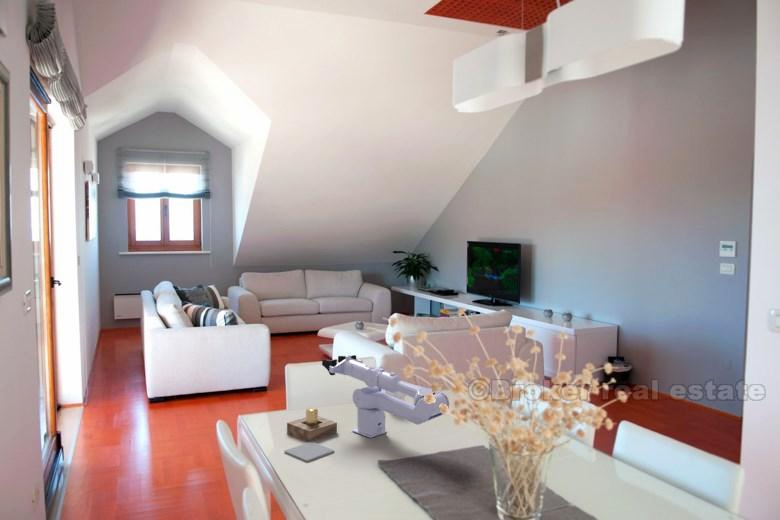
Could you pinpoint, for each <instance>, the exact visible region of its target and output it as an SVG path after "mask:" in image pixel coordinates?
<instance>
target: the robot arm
mask: <svg viewBox="0 0 780 520" xmlns="http://www.w3.org/2000/svg"><path fill="white" fill-rule="evenodd" d="M321 365H322V366H323V368H325V369H326V371H327V372H328V374H329V375H330V376H335V375H336V374H339V375H343V376H348V377H351V378H352V379H353V378H354V379H356V380H359V381H361V382H364V384H365V385H366V387H362V388H356V389H355V390H354V391H353V393H352V402H353V404H354V405H355V407H356V409H357V410H356V411H357V419H356V420H357V421H356V422H357V423H356V425H357V426H356V428H353V429H351V432H353V433H355V434H359V435H361V436H363V437H364V436H365V437H367V438H370V439H371V438H376V437H377V436H380V435H383V434H386V433H387V432H388V431H387V430H386V413H387V414H388V413H389V414H391V415H393V416H395V417H398V418H400V419H403V420H405V421H407V422H410V423H412V424H415V425H422V424H425V423H427V422H429V421H431V420H433V419H435V418H438V417H441V416H443V415H444V414H442V413H441V412H440V408H439V405H440V404H441V403H443V404H446V405H447V406H448V409H449V408H450V399H449V397H448V396H447V394H446V393H444V392H441V391H438V390H437V391H436V392H434V393H433V395H434V396H435V399H436V402H435V403H431V404H427V403H425V401H424V394H425V393H432V389H433V388H429V387H424V386H420V385H416V384H413V383H409V382H407V381H403V380H402V377H401V376H400V375H396V372H389V371H386V370H385V369H384V368H383V366H378V367H373V366H371V365H369V364H366V363H364V361H363V360H361V359H357V355H355V354H354V355H338V356H337V359H335V358H334V359H324V358H323V359H322V362H321ZM386 390H387V391H390V392H392V393H396V392H398V391H399V392H401V393H404V394H405V396H408V397H410V398H413V403H410V402H407V401H405V400H404V401H403V400H400V399H398V398H395V397H392V396H390V395H387V393H386ZM385 412H386V413H385Z"/></svg>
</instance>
